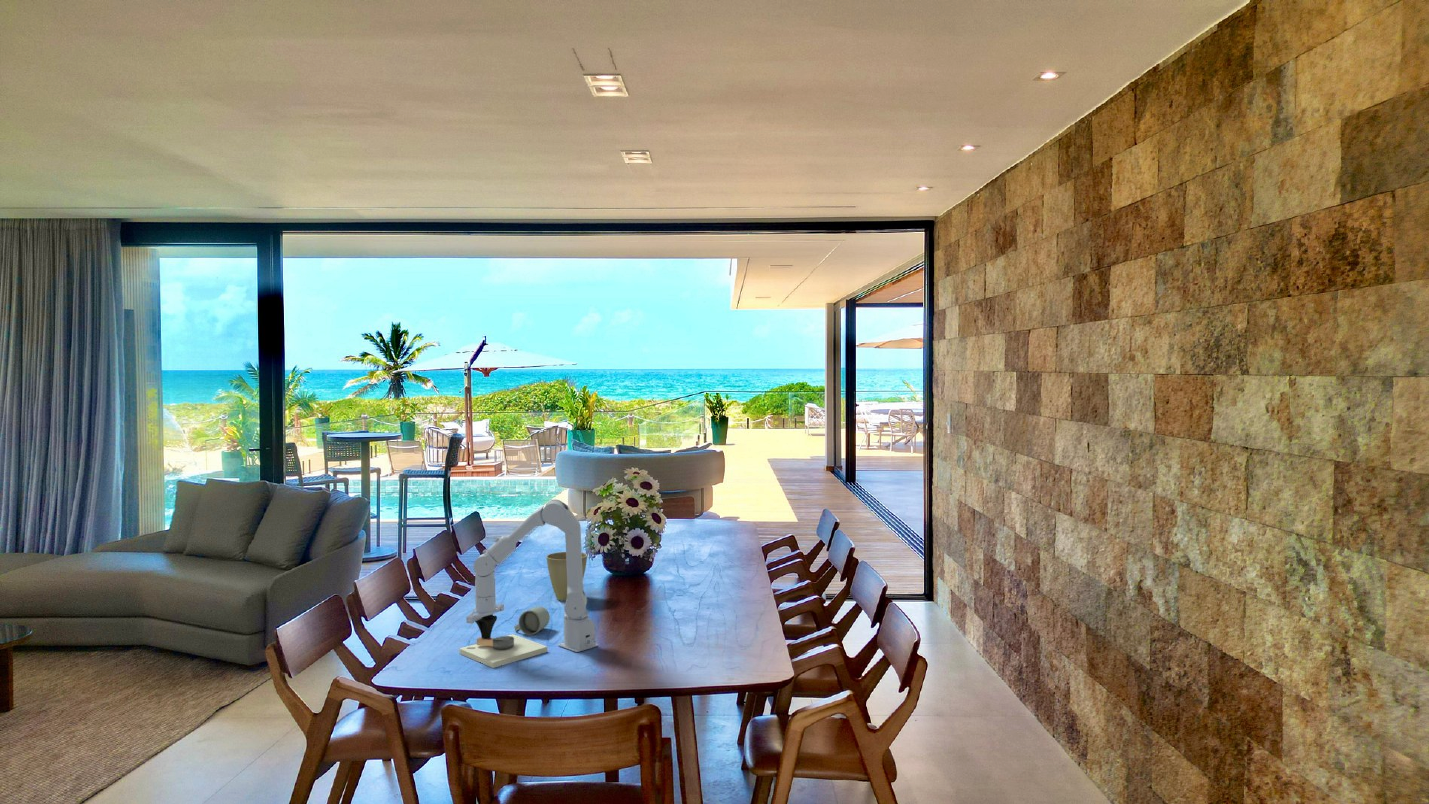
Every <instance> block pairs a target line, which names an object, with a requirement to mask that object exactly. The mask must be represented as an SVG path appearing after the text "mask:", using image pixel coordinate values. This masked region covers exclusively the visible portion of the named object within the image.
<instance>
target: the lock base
mask: <svg viewBox="0 0 1429 804" xmlns="http://www.w3.org/2000/svg"><path fill="white" fill-rule="evenodd" d="M507 636H511V637H513V638H514V646H513V647H512V648H509V649H502V650H499V649H494V648H493V646H482V645H477V643H476V644H475V643H474V644H470V645H467V646H463V647H459V653H458V654H460V655H462V656H465V657H466V658H469V659H471V660H473V661H476V662H478V663H480V662H481V663H480V664H482V663H483V665H485V666H487V667H490V668H492V669H495V668H498V667H501V665H502V666H505V665H508V664H512V663H514V662H518V661H522V660H524V659H528V658H532V657H535V656H538V655H542V654H544V653H548V646H546V645H544V644H541V643H538V642H537V641H533V640H531V639H528V638H525V637H522V636H519V635H516V634H514V633H512V634H509V635H507ZM541 653H542V654H541Z"/></svg>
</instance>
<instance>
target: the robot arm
mask: <svg viewBox="0 0 1429 804" xmlns="http://www.w3.org/2000/svg"><path fill="white" fill-rule="evenodd" d="M580 523H581V522H580V521H579V520H578V519H577V517H576V516H575V514H574V513H573V511H572V510H571V508H570V507H569V506H568V505H567V504H566V503H565V502H564V501H562V500H560V499H556V498H555V499H551V500H549V501H548V502H546V504H545V505H542V506H541V507H540V508H538V509H537V510H535V511H534V512H532V514H530V515H529V516H528V517H527V518H526V519H525V520H524V521H523V522H522V523H521V524H520V525H518V526H517V528H516V529H514V530H513V531H512V532H511V534H509V535H502V536H500V537H499V536H498V537H496V538H495V539H494V541H495V542H494V543H493V544H491V546H489V547H488V548H487V549H484V550H483V551H482V554H481V555H479V556H478V557H477V558H476V559H475V560H474V563H473V565H472V566H473V567H472V568H473V571H474V574H475V575H474V577H475V580H474V589H475V590H474V593H475V594H474V595H475V596H474V598H475V599H474V601H475V608H473V609H472V611H473V612H471V613H470V614H468V615H467V616H465V617H466V620H465V621H466V623H465V624H471V625H473V624H474V623H475V624H476V625H477V627H478V629H479V631H480V635H481V636H480V637H482V638H492V631H493V628H494V625H495V623H496V622H497V620H498V616H497V615H494V614H497V613H498V612H499V613H500V612H503V611H505V604H504V603H496V578H495V575H496V574H495V569H496V567H497V566H498V565H501V564H502V563H503V562H504V561H505V560H506V559H507V558H509V557H510V555H512V554H513V553H514V552H515V551H516V549H517V543H518V542H519V541H521V540H522V539H523V538H524V537H525V536H526V535H528V534H529V533H530V532H531V531H532V530H533V529H535V528H536V527H541V526H542V527H543V526H545V525H546V524H548V525H550V526H553V527H556V528H557V529H558V530H560V531H561V532H563V533H564V534H565V536H564V537H565V552H566V564H567V599H566V601H565V604H564V614H563V639H564V640H563V642H560V643H558V644H557V645H558V646H559V647H561V648H564V649H566V650H569V651H572V652H575V653H580V652H582V651H585V650H589V649H593V648H596V647H598V646H599V644H598V643H597V642H596V640H597V639H596V638H597V637H596V633H597V632H596V631H597V630H596V624H595V622H594V621H593V620H592V619H591V618H590V616H589V612H588V610H587V604H588V597H587V594H586V593H585V589H584V581H583V580H584V578H583V575H582V553H583V552H582V532H581V531H582V530H581V529H582V528H581V524H580Z"/></svg>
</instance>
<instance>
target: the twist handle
mask: <svg viewBox="0 0 1429 804" xmlns="http://www.w3.org/2000/svg"><path fill="white" fill-rule="evenodd" d="M476 644H477V645H482V646H493V648H494V649H499V650H502V649H509V648H512V647H513V646H514V638H513V637H511V636H508V635H504V636H503V635H502V636H497V637H495V638H494V637H491V638H482V637H481V636H480V637H477V639H476Z"/></svg>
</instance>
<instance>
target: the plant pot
mask: <svg viewBox="0 0 1429 804" xmlns="http://www.w3.org/2000/svg"><path fill="white" fill-rule="evenodd" d="M545 558H546V564H547V565H546V566H547V570H548V574H549V579H550V583H551V586H552V587H551V588H552V590H553V592H554V595H555V598H556V600H557V601H561V602H566V599H567V564H566V551H562V552H561V551H560V552H554V553H549V554H547V555H546V556H545ZM587 560H588V554H587V553H585V552H582V575H583V579H584V576H585V573H586V568H587V567H586V566H587Z"/></svg>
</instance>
